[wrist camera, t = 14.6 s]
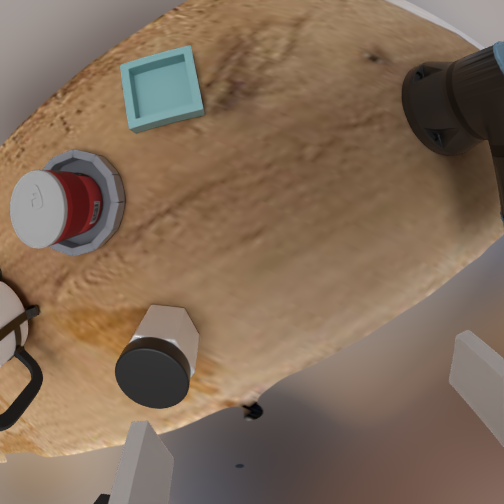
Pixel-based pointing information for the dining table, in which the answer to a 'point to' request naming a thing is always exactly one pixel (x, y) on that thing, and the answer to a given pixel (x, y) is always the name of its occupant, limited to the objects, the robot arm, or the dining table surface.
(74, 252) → the round gray bowl
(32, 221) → the canned food
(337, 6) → the dining table surface
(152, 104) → the square tray
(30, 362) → the coffee press
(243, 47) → the dining table surface
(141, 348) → the jar
